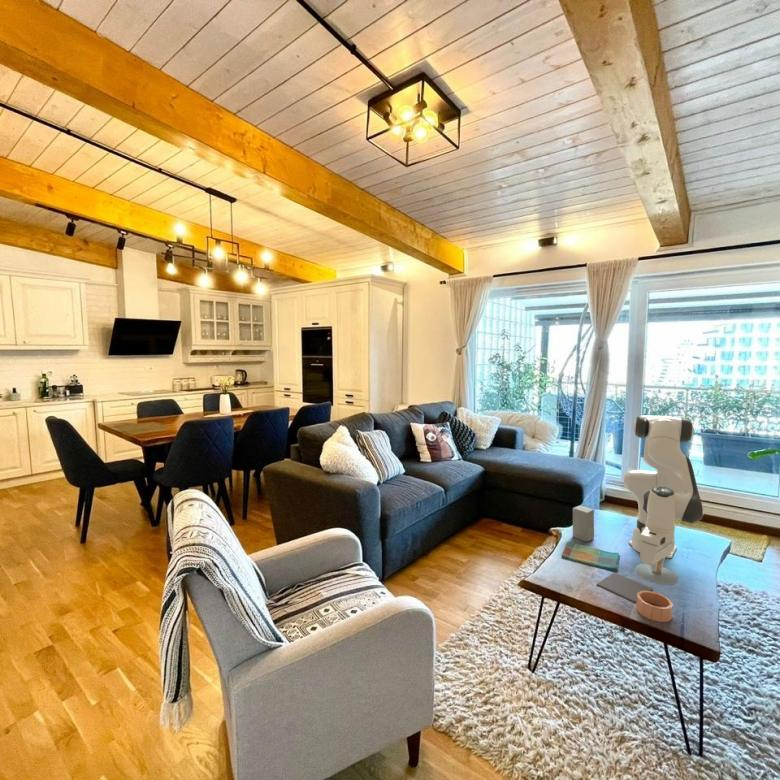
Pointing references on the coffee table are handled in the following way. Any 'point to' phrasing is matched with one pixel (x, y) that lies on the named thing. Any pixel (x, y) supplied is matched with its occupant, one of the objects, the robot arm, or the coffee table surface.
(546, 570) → the coffee table surface
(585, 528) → the skincare box
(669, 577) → the lid
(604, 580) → the mat
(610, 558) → the dish towel
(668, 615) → the bowl
